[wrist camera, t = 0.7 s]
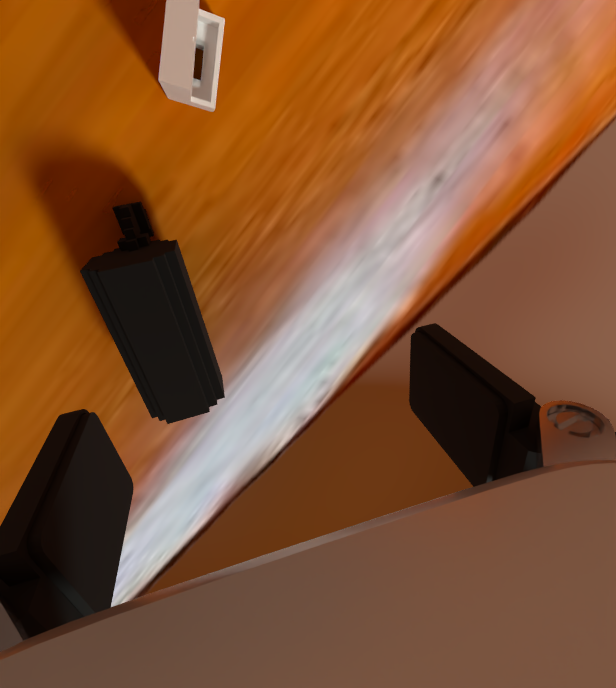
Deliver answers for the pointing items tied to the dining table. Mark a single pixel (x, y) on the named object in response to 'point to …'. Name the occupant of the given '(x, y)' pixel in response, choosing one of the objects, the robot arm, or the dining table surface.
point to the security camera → (155, 320)
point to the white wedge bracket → (190, 53)
